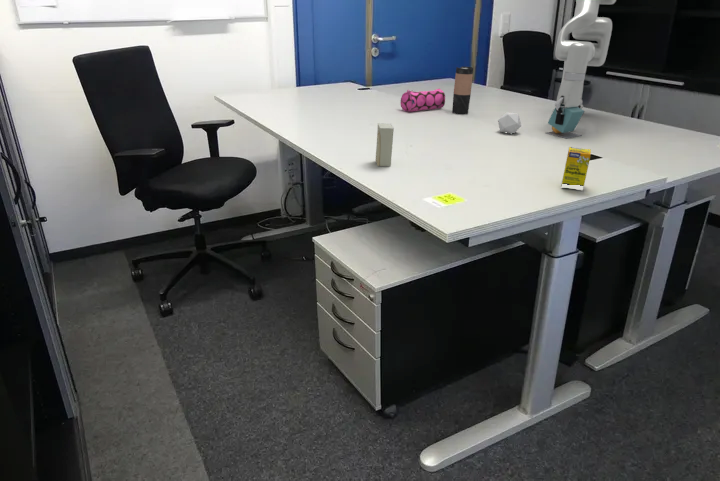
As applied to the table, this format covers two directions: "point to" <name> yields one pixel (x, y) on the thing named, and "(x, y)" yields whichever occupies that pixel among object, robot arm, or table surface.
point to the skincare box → (384, 144)
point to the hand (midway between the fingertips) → (565, 123)
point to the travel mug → (462, 90)
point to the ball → (555, 130)
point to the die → (509, 122)
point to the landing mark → (564, 134)
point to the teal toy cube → (567, 119)
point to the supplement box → (576, 166)
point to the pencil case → (422, 100)
